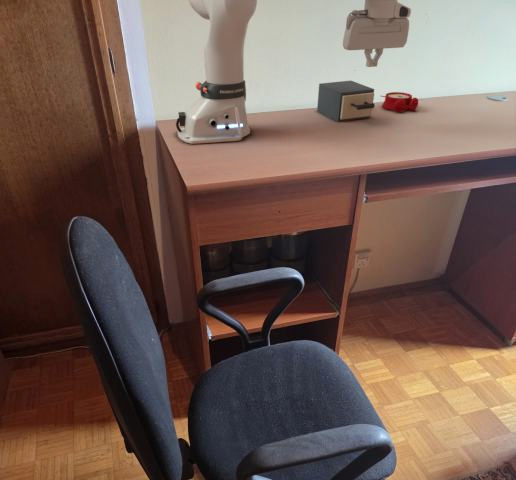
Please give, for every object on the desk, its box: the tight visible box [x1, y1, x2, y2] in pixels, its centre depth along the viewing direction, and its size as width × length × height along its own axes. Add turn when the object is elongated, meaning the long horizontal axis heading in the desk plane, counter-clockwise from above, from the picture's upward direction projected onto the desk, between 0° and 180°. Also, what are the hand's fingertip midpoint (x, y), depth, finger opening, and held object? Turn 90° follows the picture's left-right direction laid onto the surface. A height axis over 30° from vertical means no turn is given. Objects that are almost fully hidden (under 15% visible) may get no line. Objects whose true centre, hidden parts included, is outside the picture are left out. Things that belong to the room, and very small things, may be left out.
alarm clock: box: [381, 91, 419, 114], centre depth 159 cm, size 10×6×15 cm
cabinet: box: [316, 80, 375, 123], centre depth 153 cm, size 15×13×9 cm
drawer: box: [340, 92, 376, 119], centre depth 150 cm, size 18×11×7 cm, turn 23°
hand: (371, 66), depth 136 cm, fingers closed
